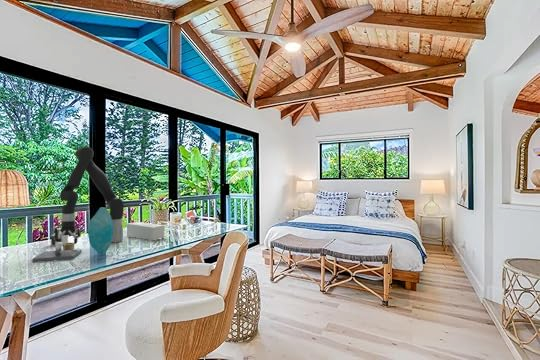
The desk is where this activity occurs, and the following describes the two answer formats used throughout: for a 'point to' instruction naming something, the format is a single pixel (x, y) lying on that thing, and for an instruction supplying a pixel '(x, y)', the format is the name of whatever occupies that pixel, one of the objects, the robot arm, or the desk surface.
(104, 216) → the crystal
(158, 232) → the light grey long block
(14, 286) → the desk surface
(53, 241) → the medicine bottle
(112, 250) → the desk surface
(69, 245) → the bronze ring
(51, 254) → the piston stand
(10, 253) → the desk surface
